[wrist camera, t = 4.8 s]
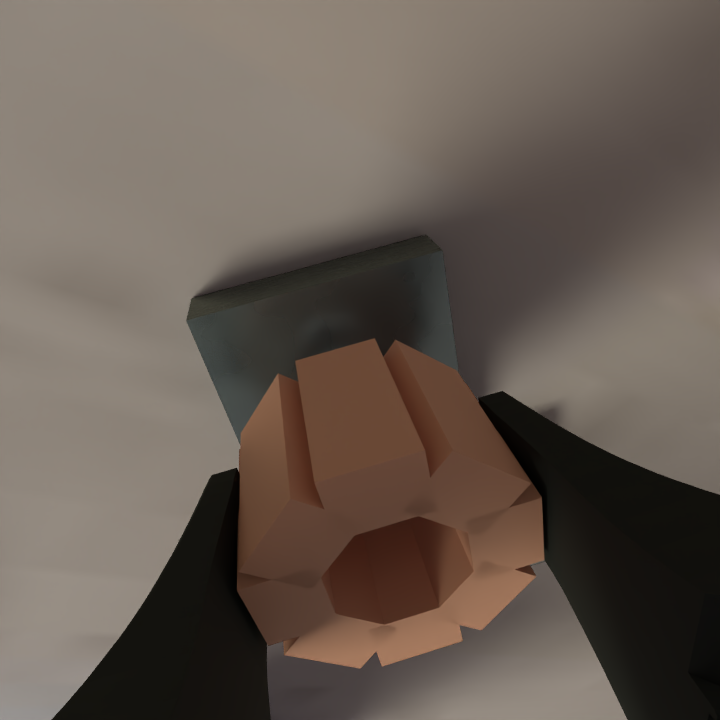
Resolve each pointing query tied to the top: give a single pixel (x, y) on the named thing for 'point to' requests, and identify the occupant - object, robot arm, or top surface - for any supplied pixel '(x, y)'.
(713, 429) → the top surface
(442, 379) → the ring
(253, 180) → the top surface
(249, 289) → the square peg base
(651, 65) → the top surface
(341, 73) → the top surface
